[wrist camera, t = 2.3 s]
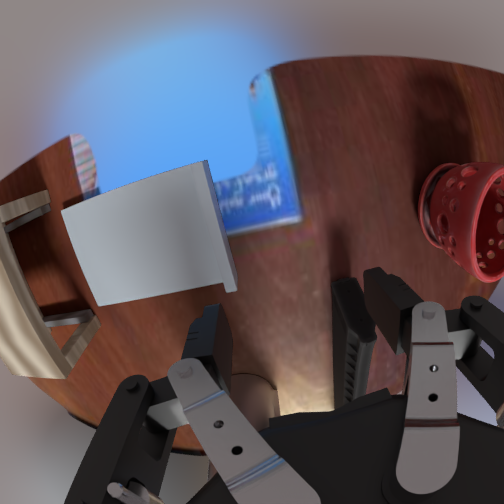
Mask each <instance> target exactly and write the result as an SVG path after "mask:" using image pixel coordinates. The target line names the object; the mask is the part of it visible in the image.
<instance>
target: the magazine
mask: <svg viewBox="0 0 504 504" xmlns="http://www.w3.org/2000/svg"><path fill="white" fill-rule="evenodd" d="M331 287H332V295H333V373H334V398H335V410H336V409H337V408H339V407H341V406H343V405H345V404H347V403H349V402H351V401H353V400H355V399H356V398H358V397H360V396H364V395H365V394H366V388H367V381H368V375H369V368H370V361H371V356H372V352H373V347H374V344H375V342H376V339H377V335H376V333H375V326H376V323H375V322H374V320H373V319H372V317H371V316H370V314H369V313H368V311H367V309H366V306H365V300H364V293H363V291H362V289H361V287H360V285H359V283H358V281H357V279H356V278H355V277H353V278H349V277H348V278H343V279H339V280H337V281H335V282H332V283H331Z"/></svg>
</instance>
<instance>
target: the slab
mask: <svg viewBox="0 0 504 504" xmlns="http://www.w3.org/2000/svg"><path fill="white" fill-rule="evenodd" d="M61 213H62V216H63V219H64V222H65V225H66V228H67V231H68V234H69V237H70V240H71V242H72V245H73V248H74V250H75V253H76V256H77V258H78V261H79V263H80V266H81V268H82V270H83V273H84V275H85V278H86V280H87V282H88V284H89V287H90V289H91V291H92V293H93V295H94V297H95V300H96V302H97V304H98V306H104V305H110V304H115V303H121V302H126V301H131V300H137V299H142V298H147V297H152V296H158V295H163V294H168V293H173V292H178V291H183V290H188V289H193V288H198V287H203V286H208V285H212V284H217V283H222V282H223V283H224V287H225V290H226V293H228V292H233V291H237V283H238V274H237V271H236V267H235V264H234V260H233V256H232V253H231V249H230V245H229V242H228V238H227V234H226V231H225V227H224V223H223V219H222V216H221V212H220V208H219V204H218V200H217V197H216V193H215V189H214V185H213V180H212V176H211V172H210V169H209V164H208V160H204V161H200V162H197V163H193V164H190V165H187V166H183V167H180V168H176V169H173V170H170V171H166V172H163V173H160V174H157V175H154V176H151V177H148V178H145V179H142V180H139V181H136V182H133V183H130V184H128V185H124V186H122V187H119V188H116V189H114V190H111V191H108V192H106V193H103V194H100V195H98V196H95V197H93V198H90V199H88V200H85V201H83V202H80V203H78V204H76V205H73V206H71V207H69V208H66V209H64V210H62V211H61Z"/></svg>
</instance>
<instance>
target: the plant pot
mask: <svg viewBox="0 0 504 504" xmlns="http://www.w3.org/2000/svg"><path fill="white" fill-rule="evenodd" d="M498 177H499V178H500V180H501V181H500V182H496V181H495V180H496V179H497V178H498ZM498 189H502V190H503V192H504V165H501V164H497V163H490V162H472V163H466V164H462V165H459V164H456V163H445V164H442V165H439V166H438V167H436V168H435V169H434V170H433V171H432V172H431V173H430V174H429V175H428V177H427V178H426V180H425V182H424V184H423V186H422V189H421V192H420V196H419V201H418V218H419V223H420V226H421V229H422V231H423V234H424V235H425V237H426V238H427V240H428V241H429V242H430V243H431V244H432V245H434V246H435V247H438V248H442V249H443V250H444V251H445V252H446V253H447V254H448V255H449V256H450V257H451V258H452V259H453V260H454V261H455V262H456V263H457V264H458V265H459V266H461V267H462V268H463V269H464V270H466V271H467V272H468V273H470V274H471V275H473V276H474V277H476V278H477V279H479V280H481V281H483V282H494V281H497V280H498V279H500V278H502V277H503V276H504V249H502V250H501V249H500V248H499V245H500V243H501V242H504V234H500V233H499V231H498V224H499V222H500V221H501V220H502V219H504V196H501V195H500V194H499V192H498ZM497 203H500V204H501V205H502V207H503V211H502V212H501V213H500V212H498V211H497V208H496V205H497ZM491 240H494V244H493V245H489V242H490V241H491ZM490 253H494V254H495V257H494V258H493V259H489V258H488V257H487V256H488V254H490ZM477 255H481V256H482V258H477V257H476V256H477ZM480 266H486V268H482V267H480Z"/></svg>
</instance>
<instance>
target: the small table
mask: <svg viewBox="0 0 504 504" xmlns="http://www.w3.org/2000/svg"><path fill="white" fill-rule="evenodd" d="M50 202H51V200H50V197H49V193H48V189H47V190H44V191H41V192H38V193H35V194H32V195H29V196H26V197H23V198H20V199H18V200H15V201H12V202H9V203H7V204H4V205H1V206H0V357H1V359H2V360H3V362H4V363H5V364H6V366H7V368H8V369H9V371H10V372H11V374H12V375H21V376H30V377H41V378H56V379H66V378H67V377H68V375H69V373H70V372H71V370H72V369H73V367H74V365H75V364H76V362H77V361H78V359H79V358H80V356H81V354H82V353H83V351H84V350H85V348H86V347H87V345H88V344H89V342H90V341H91V339H92V338H93V336H94V335H95V333H96V332H97V330H98V329H99V328H100V326H101V323H100V321H99V320H98V318H97V316H96V315H93V313H92V311H91V309H88V310H82V311H76V312H70V313H64V314H58V315H52V316H45V317H44V316H43V314H42V312H41V310H40V308H39V306H38V304H37V302H36V300H35V298H34V296H33V294H32V292H31V290H30V288H29V285H28V283H27V281H26V279H25V276H24V274H23V272H22V269H21V267H20V264H19V262H18V259H17V257H16V254H15V251H14V249H13V246H12V243H11V240H10V237H9V234H8V232H10V231H12V230H14V229H15V228H17V227H19V226H21V225H23V224H25V223H27V222H29V221H31V220H33V219H35V218H37V217H39V216H41V215H43V214H45V213H47V212H49V211H51V209H50V206H49V204H48V203H50ZM46 204H47V205H46ZM39 207H40V208H39ZM37 208H38V209H37ZM34 209H36V210H34ZM32 210H34V211H32ZM30 211H32V212H30ZM27 212H30V213H28V214H26V215H25V216H23V217H21V218H19V219H17V220H15V221H14V222H12V223H10V224H8V225H7V226H6V225H5V222H7V221H9V220H11V219H14V218H16V217H18V216H20V215H23V214H25V213H27ZM78 323H81V324H80V325H79V327H78V328H77V329H76V331H75V332H74V333H73V335H72V336H71V337H70V338H69V340H68V341H67V343H66V344H65V345H64V347H63V348H62V349H61V350H60V349H59V347H58V346H57V344H56V342H55V341H54V339H53V337H52V336H51V334H50V333H51V331H52V330H51V329H50V327H54V326H62V325H70V324H78Z"/></svg>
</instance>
